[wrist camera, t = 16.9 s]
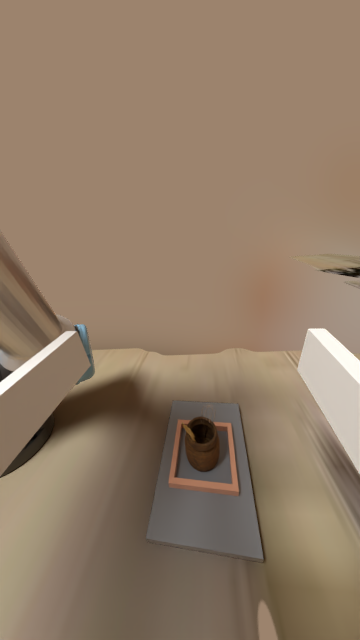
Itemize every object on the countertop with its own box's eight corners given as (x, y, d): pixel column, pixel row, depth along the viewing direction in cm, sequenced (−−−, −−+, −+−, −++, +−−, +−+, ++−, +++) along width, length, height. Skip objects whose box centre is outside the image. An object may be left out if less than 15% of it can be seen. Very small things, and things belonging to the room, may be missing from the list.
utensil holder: (226, 452, 33) (228, 407, 28) (204, 484, 30) (202, 440, 24) (200, 430, 37) (197, 387, 32) (178, 457, 33) (170, 413, 28)
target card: (147, 542, 26) (143, 534, 24) (173, 404, 45) (172, 396, 44) (262, 562, 23) (265, 555, 22) (237, 408, 43) (238, 399, 41)
